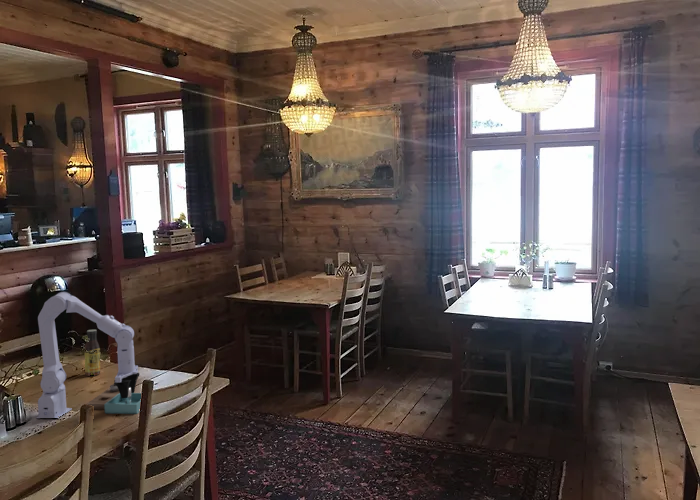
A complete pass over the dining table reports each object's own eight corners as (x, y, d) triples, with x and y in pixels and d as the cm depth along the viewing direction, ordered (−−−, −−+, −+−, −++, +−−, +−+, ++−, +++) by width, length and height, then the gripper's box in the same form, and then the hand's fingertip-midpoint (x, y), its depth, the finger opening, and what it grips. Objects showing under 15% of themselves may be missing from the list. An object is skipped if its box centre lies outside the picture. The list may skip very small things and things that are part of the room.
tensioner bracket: (107, 409, 210) (106, 396, 210) (86, 408, 211) (86, 395, 211) (129, 392, 228) (129, 380, 228) (110, 392, 229) (109, 380, 228)
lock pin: (129, 407, 211) (129, 389, 210) (123, 407, 211) (122, 388, 210) (132, 404, 213) (132, 386, 212) (126, 404, 213) (126, 386, 212)
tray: (136, 413, 206) (136, 404, 205) (104, 413, 206) (104, 404, 206) (150, 401, 217) (150, 393, 217) (120, 401, 218) (120, 392, 218)
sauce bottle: (90, 377, 248) (88, 332, 246) (82, 375, 251) (79, 331, 249) (104, 373, 253) (101, 329, 251) (95, 371, 256) (93, 328, 255)
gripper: (127, 365, 203) (129, 402, 204) (145, 354, 217) (146, 388, 218) (108, 365, 203) (110, 402, 205) (127, 354, 218) (128, 388, 219)
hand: (127, 395), depth 212 cm, fingers open, 5 cm apart
